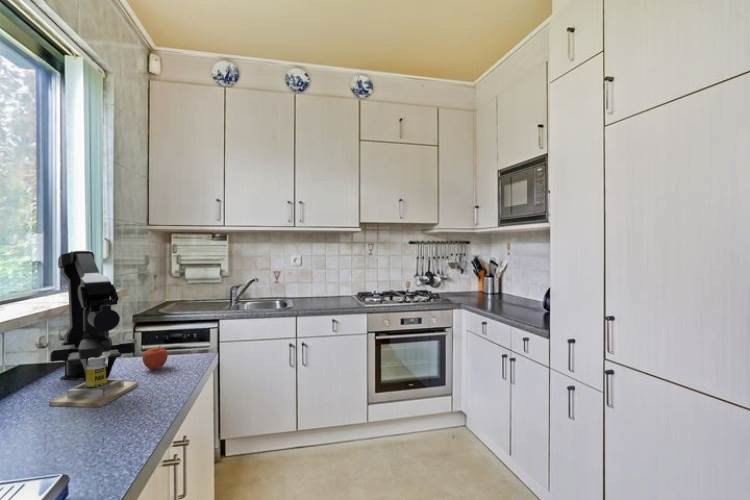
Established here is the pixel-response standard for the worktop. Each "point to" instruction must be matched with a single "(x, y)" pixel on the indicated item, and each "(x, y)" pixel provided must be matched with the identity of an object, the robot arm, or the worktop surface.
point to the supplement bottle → (96, 373)
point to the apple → (155, 358)
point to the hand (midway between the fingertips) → (96, 379)
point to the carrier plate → (94, 394)
